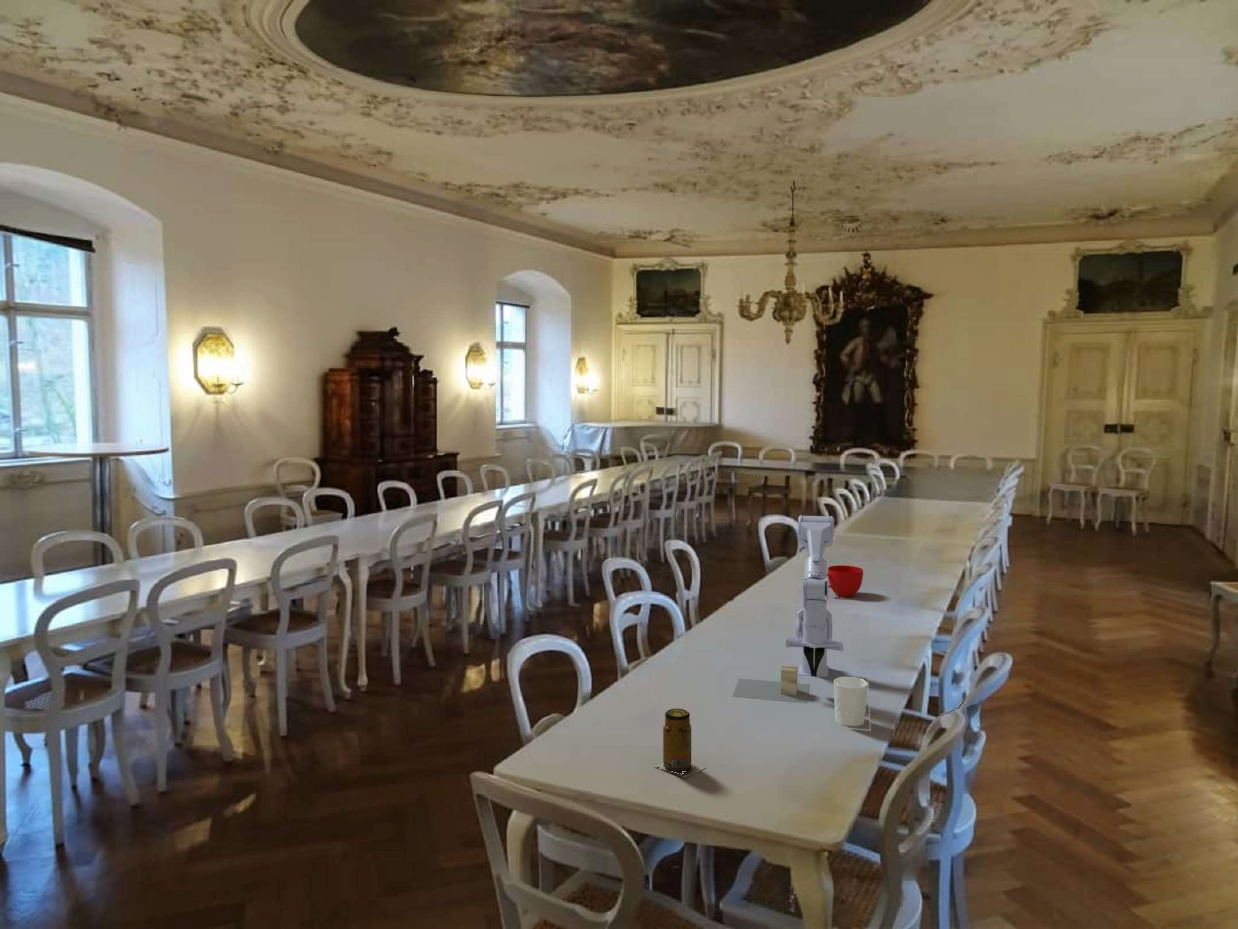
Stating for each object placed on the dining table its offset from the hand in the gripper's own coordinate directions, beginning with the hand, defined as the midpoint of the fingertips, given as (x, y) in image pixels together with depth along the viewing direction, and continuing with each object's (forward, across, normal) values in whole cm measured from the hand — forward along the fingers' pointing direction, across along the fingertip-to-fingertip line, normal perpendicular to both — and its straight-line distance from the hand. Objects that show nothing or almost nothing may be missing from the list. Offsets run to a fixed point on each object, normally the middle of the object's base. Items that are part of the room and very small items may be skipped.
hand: (813, 675), depth 230 cm
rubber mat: (+5, -11, 0) cm, 12 cm away
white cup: (+6, +9, -16) cm, 19 cm away
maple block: (+5, -6, 0) cm, 8 cm away
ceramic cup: (+6, +6, +108) cm, 108 cm away
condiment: (+6, -26, -50) cm, 57 cm away
